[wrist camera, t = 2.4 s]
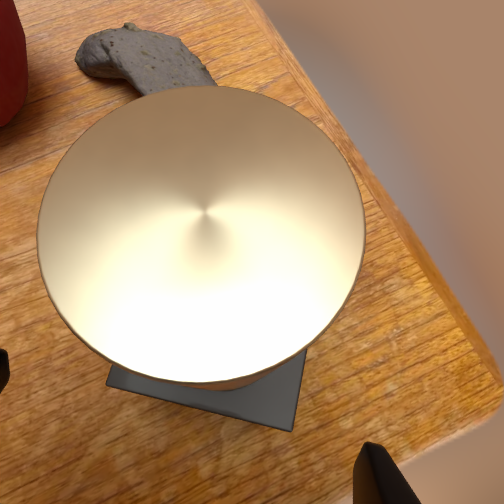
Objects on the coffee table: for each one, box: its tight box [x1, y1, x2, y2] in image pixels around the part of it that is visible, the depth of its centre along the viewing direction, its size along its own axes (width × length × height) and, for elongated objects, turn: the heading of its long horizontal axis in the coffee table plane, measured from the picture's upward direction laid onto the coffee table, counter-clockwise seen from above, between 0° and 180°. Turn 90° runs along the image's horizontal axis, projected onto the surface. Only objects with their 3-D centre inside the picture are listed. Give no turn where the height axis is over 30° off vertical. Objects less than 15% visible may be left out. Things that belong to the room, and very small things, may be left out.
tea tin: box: [36, 85, 366, 391], centre depth 11 cm, size 6×6×9 cm
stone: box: [75, 23, 218, 96], centre depth 27 cm, size 13×6×5 cm
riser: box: [106, 349, 307, 432], centre depth 19 cm, size 7×7×8 cm
